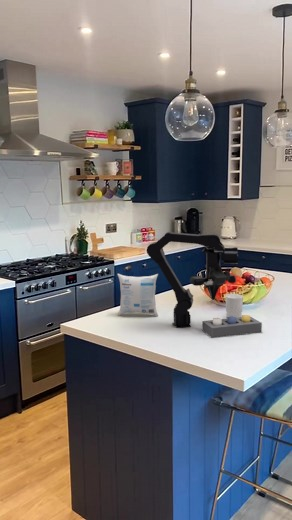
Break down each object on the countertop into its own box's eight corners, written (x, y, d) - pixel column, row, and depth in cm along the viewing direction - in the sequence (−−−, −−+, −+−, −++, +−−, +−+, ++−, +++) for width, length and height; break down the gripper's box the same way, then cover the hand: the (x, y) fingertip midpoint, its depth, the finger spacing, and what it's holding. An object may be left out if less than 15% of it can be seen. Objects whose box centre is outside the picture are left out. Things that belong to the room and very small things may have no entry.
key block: (212, 337, 181) (212, 328, 180) (202, 330, 190) (202, 321, 189) (261, 332, 186) (261, 322, 186) (249, 325, 196) (249, 316, 195)
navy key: (229, 328, 186) (229, 319, 185) (225, 326, 189) (225, 316, 188) (237, 327, 187) (237, 318, 186) (233, 325, 190) (233, 316, 189)
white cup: (222, 318, 206) (223, 297, 205) (228, 314, 213) (228, 293, 212) (239, 320, 203) (240, 298, 201) (244, 316, 210) (245, 295, 208)
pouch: (156, 318, 208) (156, 276, 204) (116, 317, 211) (115, 275, 208) (159, 314, 215) (159, 272, 212) (120, 312, 219) (119, 271, 216)
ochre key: (244, 327, 187) (244, 317, 187) (239, 324, 191) (240, 315, 190) (251, 326, 188) (252, 317, 188) (247, 323, 192) (247, 314, 191)
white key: (215, 330, 184) (215, 320, 183) (211, 327, 187) (211, 318, 187) (223, 329, 185) (223, 319, 184) (219, 326, 188) (219, 317, 188)
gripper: (199, 268, 180) (199, 306, 182) (242, 265, 185) (241, 302, 187) (189, 263, 190) (189, 299, 193) (230, 260, 195) (229, 296, 198)
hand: (212, 299), depth 193 cm, fingers closed
